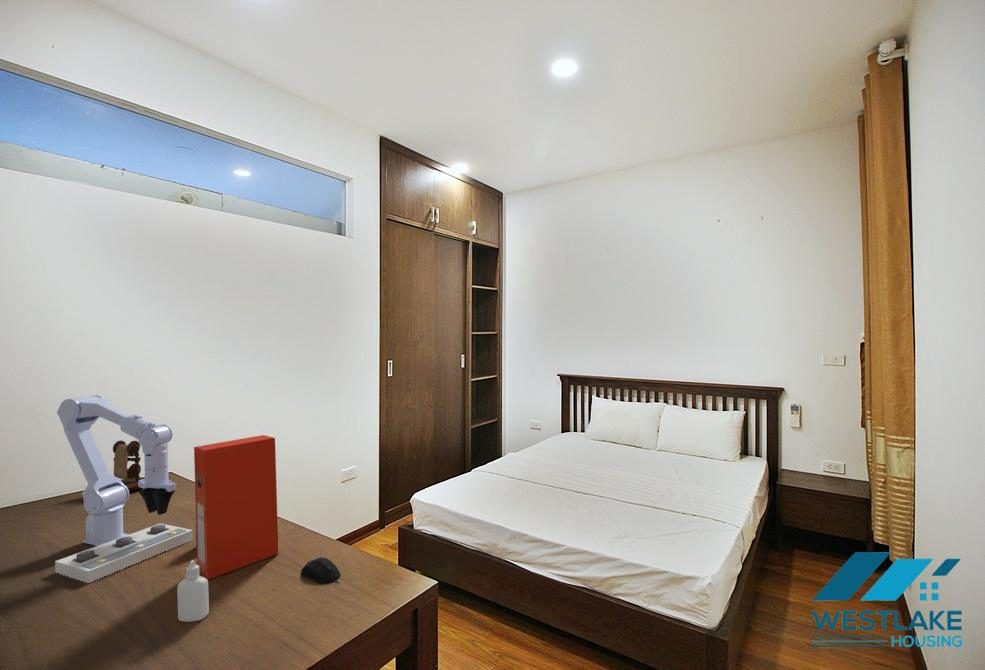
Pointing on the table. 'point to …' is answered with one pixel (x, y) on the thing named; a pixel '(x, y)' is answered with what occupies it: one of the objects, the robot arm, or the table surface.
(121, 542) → the button middle
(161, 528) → the button
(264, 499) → the file binder
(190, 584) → the eye dropper bottle
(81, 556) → the button
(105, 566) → the button board
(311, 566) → the gaming mouse
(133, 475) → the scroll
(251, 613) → the table surface
